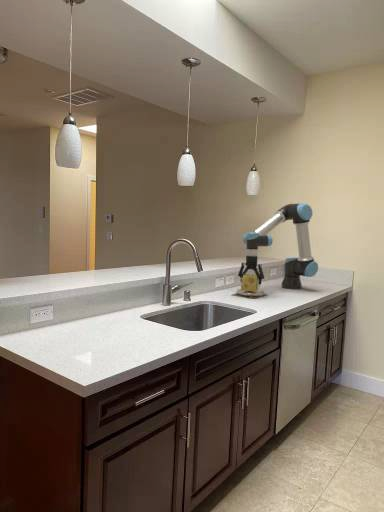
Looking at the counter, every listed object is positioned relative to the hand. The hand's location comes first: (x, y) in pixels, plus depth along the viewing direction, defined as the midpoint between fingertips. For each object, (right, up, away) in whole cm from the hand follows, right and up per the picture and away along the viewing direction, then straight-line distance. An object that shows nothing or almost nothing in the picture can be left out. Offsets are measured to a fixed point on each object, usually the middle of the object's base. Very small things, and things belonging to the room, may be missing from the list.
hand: (250, 288), depth 259 cm
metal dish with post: (0, -5, +4) cm, 7 cm away
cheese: (0, -1, 0) cm, 1 cm away
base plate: (0, -5, +4) cm, 6 cm away
